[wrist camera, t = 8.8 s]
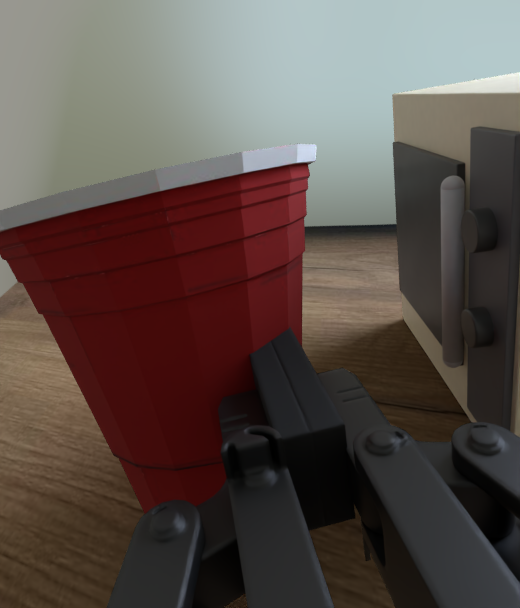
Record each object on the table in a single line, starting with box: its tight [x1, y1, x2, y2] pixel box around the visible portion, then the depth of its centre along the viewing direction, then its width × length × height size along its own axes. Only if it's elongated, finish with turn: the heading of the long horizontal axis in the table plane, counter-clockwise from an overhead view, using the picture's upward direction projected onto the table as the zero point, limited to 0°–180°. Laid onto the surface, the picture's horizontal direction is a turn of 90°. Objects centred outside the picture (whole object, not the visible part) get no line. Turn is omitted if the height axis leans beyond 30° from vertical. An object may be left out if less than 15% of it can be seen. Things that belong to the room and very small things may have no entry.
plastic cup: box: [0, 144, 316, 513], centre depth 17 cm, size 11×11×12 cm
